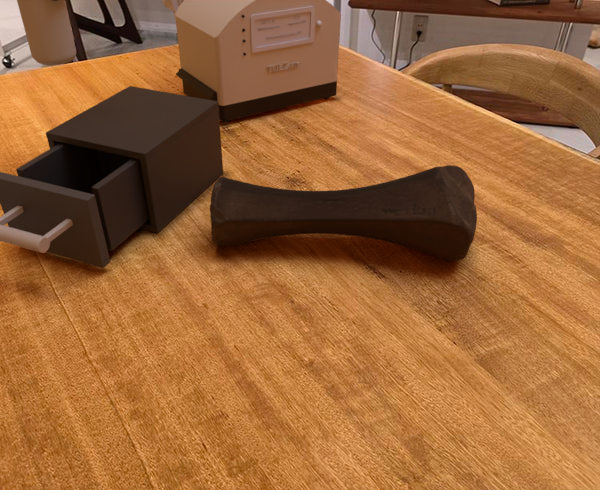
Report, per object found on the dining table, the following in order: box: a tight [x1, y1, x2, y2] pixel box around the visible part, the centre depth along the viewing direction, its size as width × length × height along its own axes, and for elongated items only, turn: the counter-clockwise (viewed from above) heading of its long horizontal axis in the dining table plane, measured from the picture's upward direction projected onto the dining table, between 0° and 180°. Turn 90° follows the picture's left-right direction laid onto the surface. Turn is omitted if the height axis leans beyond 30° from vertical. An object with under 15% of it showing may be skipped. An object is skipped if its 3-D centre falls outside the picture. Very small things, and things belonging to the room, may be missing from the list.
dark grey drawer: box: [0, 142, 150, 269], centre depth 62 cm, size 19×11×8 cm, turn 158°
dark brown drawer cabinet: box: [45, 85, 224, 234], centre depth 70 cm, size 16×13×10 cm
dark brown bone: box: [209, 164, 478, 262], centre depth 62 cm, size 11×10×28 cm
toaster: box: [161, 0, 342, 124], centre depth 95 cm, size 23×25×17 cm
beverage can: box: [16, 0, 77, 66], centre depth 63 cm, size 5×5×12 cm
